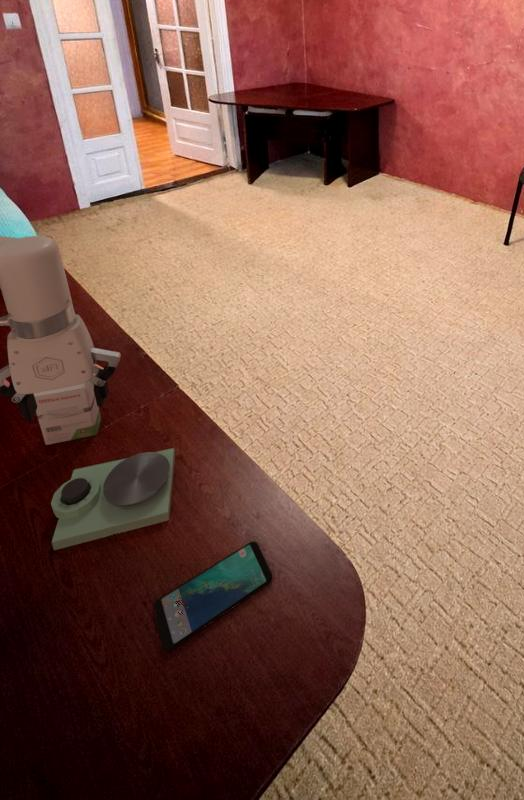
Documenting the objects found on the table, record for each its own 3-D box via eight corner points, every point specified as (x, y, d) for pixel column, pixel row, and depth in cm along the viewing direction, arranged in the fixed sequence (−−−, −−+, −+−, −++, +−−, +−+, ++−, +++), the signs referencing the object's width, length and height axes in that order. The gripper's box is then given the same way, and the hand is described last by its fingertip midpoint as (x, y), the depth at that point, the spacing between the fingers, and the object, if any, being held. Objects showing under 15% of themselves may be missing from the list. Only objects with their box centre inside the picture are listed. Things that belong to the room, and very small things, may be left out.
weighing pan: (97, 514, 75) (97, 512, 75) (109, 461, 84) (109, 459, 84) (167, 496, 78) (167, 495, 78) (172, 447, 87) (172, 446, 87)
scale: (44, 553, 73) (39, 537, 71) (67, 479, 84) (63, 464, 83) (169, 520, 78) (166, 505, 77) (175, 455, 90) (173, 441, 89)
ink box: (102, 417, 97) (92, 370, 93) (96, 436, 93) (86, 388, 88) (52, 426, 94) (39, 378, 90) (43, 446, 90) (30, 397, 86)
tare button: (60, 507, 76) (58, 500, 76) (66, 487, 79) (64, 481, 79) (86, 501, 77) (84, 494, 77) (91, 482, 81) (89, 475, 80)
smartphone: (151, 602, 67) (255, 538, 76) (151, 605, 67) (255, 541, 76) (164, 653, 62) (274, 578, 70) (165, 656, 62) (274, 581, 71)
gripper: (-40, 344, 65) (-7, 440, 71) (106, 322, 71) (125, 412, 77) (-18, 314, 72) (11, 403, 78) (114, 295, 77) (131, 380, 84)
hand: (67, 407), depth 77 cm, fingers open, 9 cm apart
